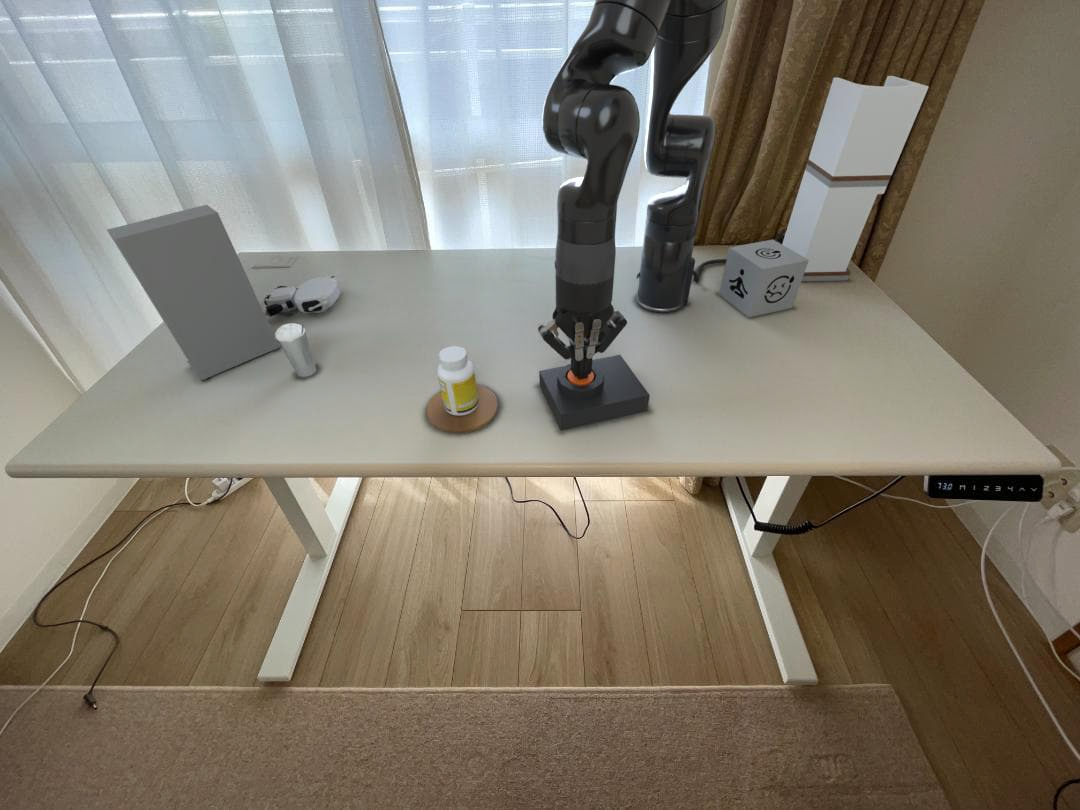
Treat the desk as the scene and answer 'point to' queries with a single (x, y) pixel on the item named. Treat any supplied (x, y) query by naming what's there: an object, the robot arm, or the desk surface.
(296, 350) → the milkshake
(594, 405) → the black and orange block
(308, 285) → the robot toy
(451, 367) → the supplement bottle
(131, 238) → the tall grey upright panel
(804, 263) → the icon cube
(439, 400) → the coaster
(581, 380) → the orange button
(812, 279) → the white striped pillar
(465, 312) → the desk surface
